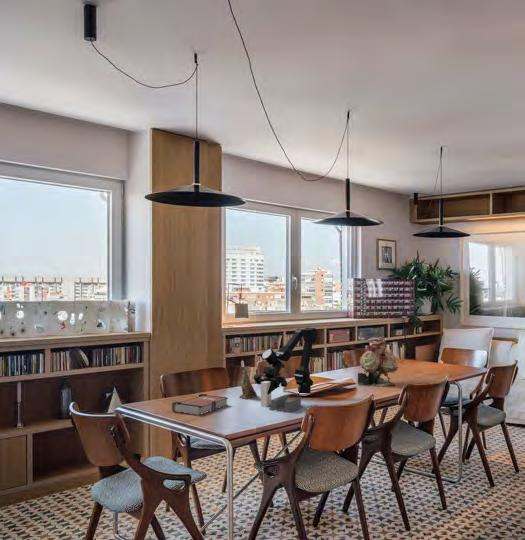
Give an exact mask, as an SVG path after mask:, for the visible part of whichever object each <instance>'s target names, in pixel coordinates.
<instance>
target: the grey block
mask: <svg viewBox="0 0 525 540" xmlns="http://www.w3.org/2000/svg"><path fill="white" fill-rule="evenodd" d="M270 385H271V381H264V382H261V384H260V406H261V407H264V406H267V407H270V406H271V400H272V392H271V393H270V394H267V392H268V390H269V387H270ZM269 405H270V406H269Z"/></svg>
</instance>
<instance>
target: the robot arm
mask: <svg viewBox="0 0 525 540" xmlns="http://www.w3.org/2000/svg"><path fill="white" fill-rule="evenodd" d="M318 334H319V331H318V330H317V328H316V327H305V328H303V329H302V328H297V329H295V331H294V333H293V334H292V336H291V337H290V339H289V340H288V341H287V342H286V344H285V345H284V346H282V347H280V348H279V349H278V350H276V352H274V349H272V348H269V349H268V350H266V351H265V352H263V353H262V356H261V357H262V358H263V360H265V362H266V363H267V364H268V365H270V366H263V367H262V371H261V373H263V374H257V373H256V374H254V376H253V377H252V379H253V380H254V381H255V384H256V385H261V382H264V381H271V385H270V387H269V390H268V392H267V394H270V393H271V394H272V392H273V391H275V390H276V389H278V388H280V387H282V388H287V387H288V386H287V385H288V381H287V379H286V377H285V376H281V374H280V372H281V370H282V369H284V368H286V367H285V363H284V362H289V360H290V359H291V357H292V353H293V350H294V349H295V348H296V346H297V345H298V344H299V342H300V341H301V340H303V348H302V353H301V357H300V358H301V359H300V364H299V367H298V368H295V370H294V375H293V376H294V380H295V382H296V384H295V385H297V386H298V387H297V393H298V392H299V393H312V392H311V391H312V390H311V386H313V385H314V381H313V379H312V378H311V372H310V368H309V367H310V361H311V356H312V349H313V345H314V343H315V342H316V341H317V339H318V338H317V337H318ZM262 375H264V376H262ZM307 397H312V395H311V394H310V395H308V396H307ZM300 398H303V397H302V396H300Z"/></svg>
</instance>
